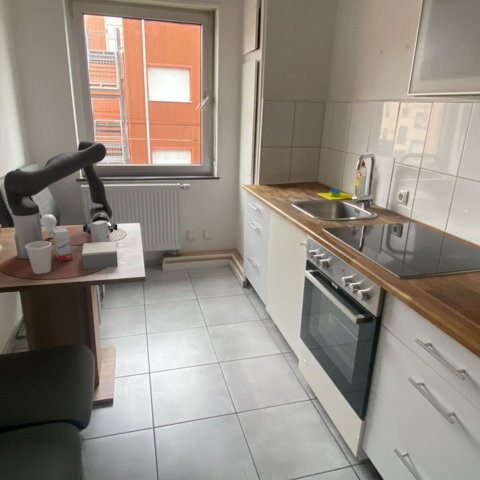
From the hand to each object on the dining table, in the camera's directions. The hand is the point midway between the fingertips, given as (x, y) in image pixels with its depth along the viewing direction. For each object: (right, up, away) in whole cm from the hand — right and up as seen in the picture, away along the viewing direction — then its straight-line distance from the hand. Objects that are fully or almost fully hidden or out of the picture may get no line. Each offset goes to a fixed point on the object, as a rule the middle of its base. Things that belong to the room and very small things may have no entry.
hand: (100, 231), depth 162 cm
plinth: (+6, -12, -15) cm, 20 cm away
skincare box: (+2, -8, -3) cm, 9 cm away
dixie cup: (-12, -15, -25) cm, 31 cm away
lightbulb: (-26, -3, +10) cm, 28 cm away
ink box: (-10, -11, -12) cm, 19 cm away
